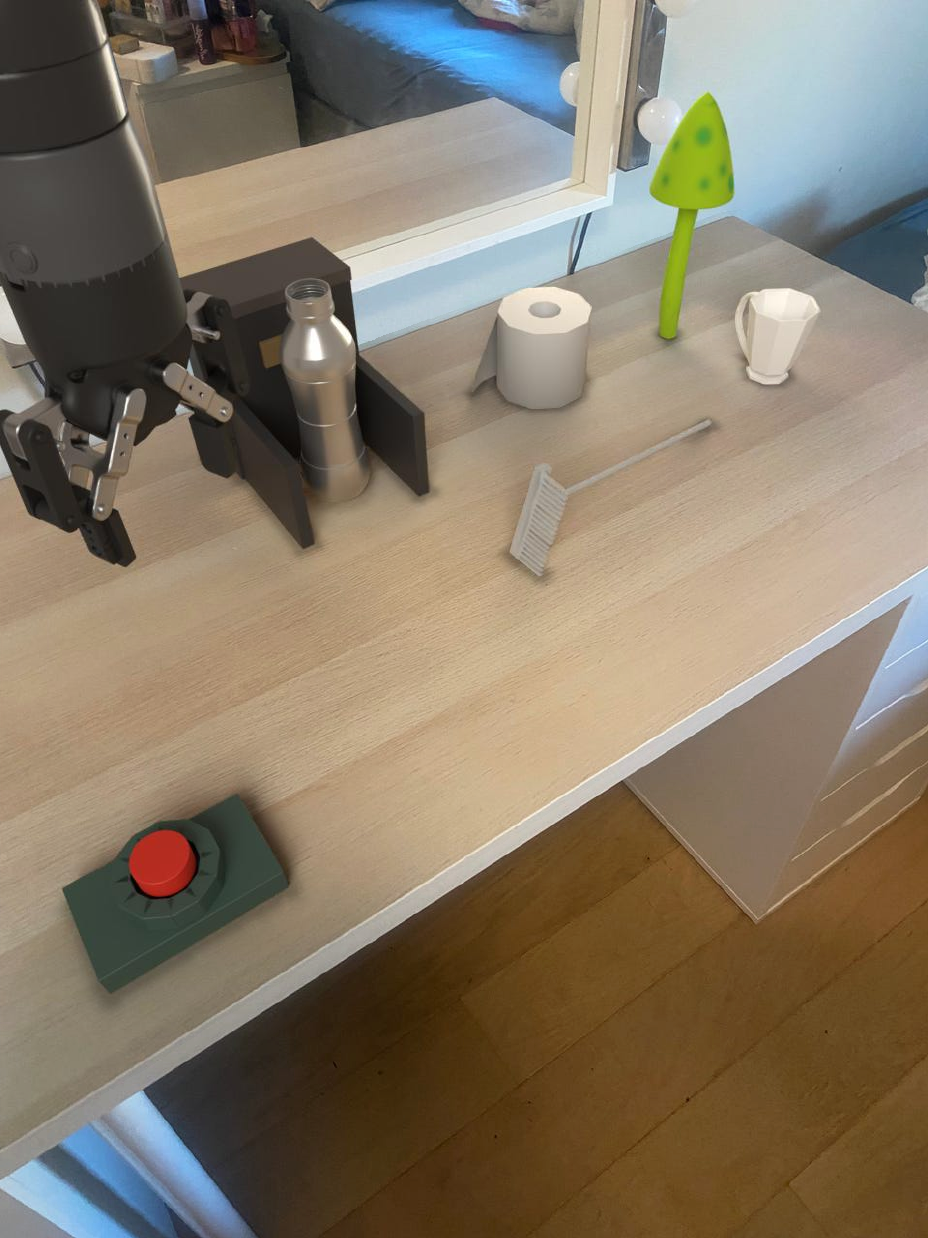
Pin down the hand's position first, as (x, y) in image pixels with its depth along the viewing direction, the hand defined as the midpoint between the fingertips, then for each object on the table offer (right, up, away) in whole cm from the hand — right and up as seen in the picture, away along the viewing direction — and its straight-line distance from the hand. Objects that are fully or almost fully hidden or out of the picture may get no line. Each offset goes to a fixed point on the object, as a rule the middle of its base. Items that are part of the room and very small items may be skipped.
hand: (172, 513), depth 51 cm
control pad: (-2, -24, +7) cm, 25 cm away
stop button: (-2, -21, +4) cm, 22 cm away
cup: (+49, +21, +46) cm, 70 cm away
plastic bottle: (+5, +6, +34) cm, 35 cm away
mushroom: (+40, +26, +51) cm, 70 cm away
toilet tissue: (+24, +19, +44) cm, 54 cm away
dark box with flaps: (+3, +9, +36) cm, 37 cm away
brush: (+31, +5, +32) cm, 45 cm away
